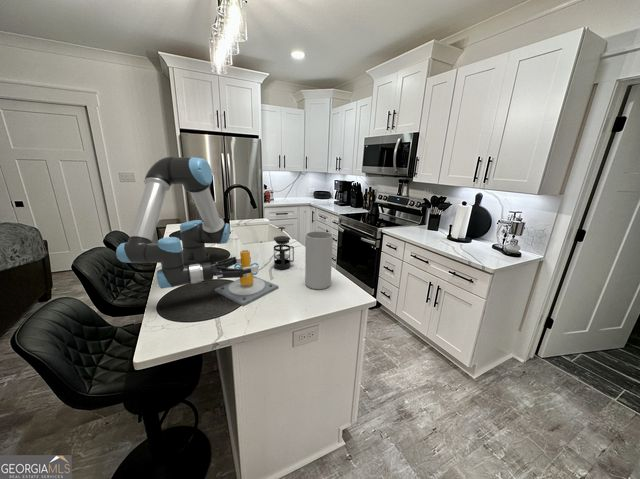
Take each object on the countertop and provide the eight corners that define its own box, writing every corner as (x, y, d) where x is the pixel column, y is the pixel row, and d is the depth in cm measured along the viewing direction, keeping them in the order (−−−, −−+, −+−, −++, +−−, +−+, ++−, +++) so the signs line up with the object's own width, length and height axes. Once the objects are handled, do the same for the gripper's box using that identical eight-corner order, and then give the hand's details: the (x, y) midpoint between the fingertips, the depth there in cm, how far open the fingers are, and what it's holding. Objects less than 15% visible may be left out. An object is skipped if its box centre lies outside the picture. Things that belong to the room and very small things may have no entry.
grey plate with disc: (214, 291, 115) (214, 287, 114) (250, 276, 130) (250, 272, 130) (243, 306, 104) (243, 301, 103) (278, 288, 119) (278, 283, 119)
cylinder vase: (328, 291, 118) (330, 239, 110) (302, 288, 120) (302, 237, 112) (332, 279, 129) (334, 232, 122) (308, 277, 131) (308, 230, 124)
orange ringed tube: (264, 279, 119) (263, 249, 115) (252, 289, 110) (250, 257, 105) (242, 275, 123) (240, 246, 118) (228, 284, 113) (225, 253, 109)
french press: (273, 271, 138) (272, 229, 131) (272, 264, 147) (270, 225, 140) (294, 269, 141) (294, 229, 134) (292, 263, 150) (292, 224, 143)
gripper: (199, 270, 116) (248, 262, 126) (206, 293, 96) (262, 281, 107) (198, 254, 114) (247, 248, 124) (203, 274, 94) (261, 265, 104)
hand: (254, 263), depth 115 cm, fingers closed on orange ringed tube, 11 cm apart
